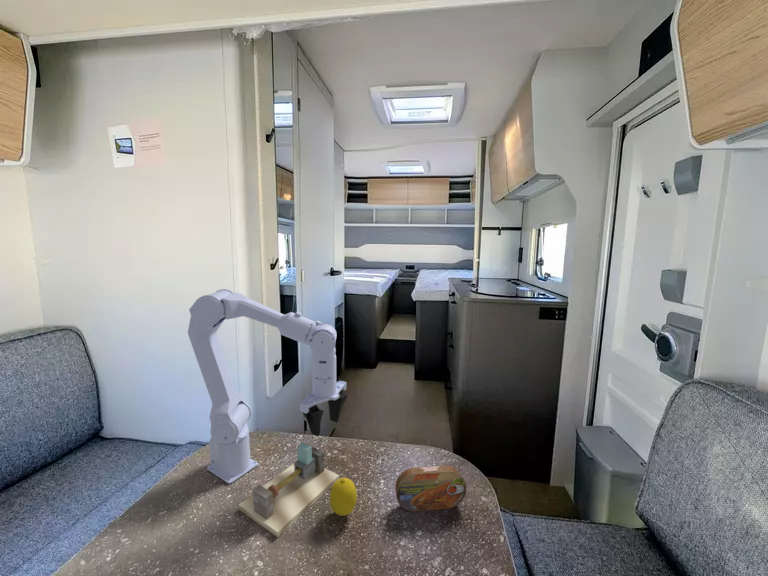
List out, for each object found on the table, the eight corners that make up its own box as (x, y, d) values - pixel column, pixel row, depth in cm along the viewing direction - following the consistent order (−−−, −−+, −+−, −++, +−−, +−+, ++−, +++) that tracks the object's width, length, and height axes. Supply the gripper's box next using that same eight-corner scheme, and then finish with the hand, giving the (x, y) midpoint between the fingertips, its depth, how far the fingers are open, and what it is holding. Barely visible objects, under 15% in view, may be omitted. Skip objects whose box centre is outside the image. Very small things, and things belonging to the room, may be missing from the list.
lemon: (352, 527, 65) (352, 491, 63) (325, 522, 66) (325, 486, 64) (360, 505, 70) (360, 471, 69) (335, 501, 71) (335, 467, 70)
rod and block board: (278, 537, 62) (276, 509, 61) (239, 509, 69) (237, 483, 68) (339, 479, 77) (338, 456, 76) (302, 461, 84) (302, 439, 83)
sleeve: (303, 479, 74) (303, 453, 73) (294, 474, 75) (293, 448, 74) (315, 470, 77) (314, 444, 76) (306, 465, 78) (305, 440, 77)
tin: (395, 513, 68) (396, 476, 67) (394, 501, 71) (394, 466, 70) (465, 508, 70) (468, 472, 68) (461, 496, 73) (462, 462, 72)
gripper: (315, 390, 70) (316, 448, 72) (355, 368, 83) (355, 418, 85) (292, 382, 74) (293, 437, 76) (334, 362, 86) (334, 410, 88)
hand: (325, 427), depth 81 cm, fingers open, 6 cm apart
